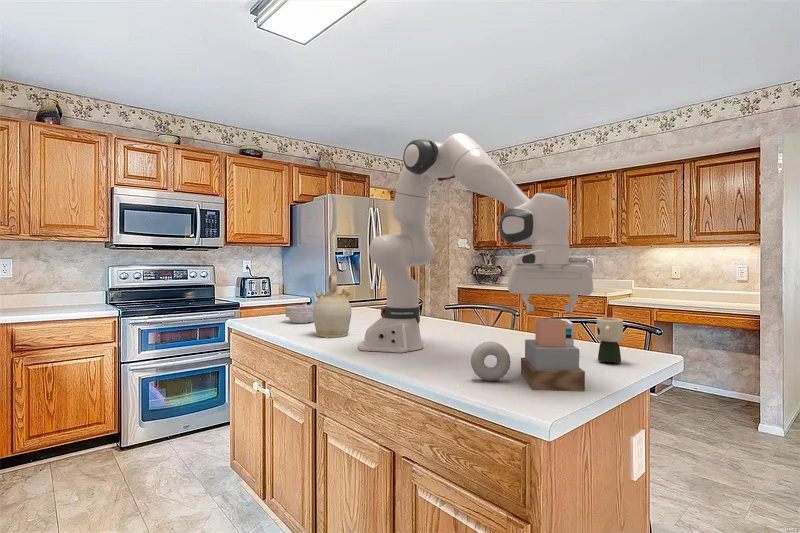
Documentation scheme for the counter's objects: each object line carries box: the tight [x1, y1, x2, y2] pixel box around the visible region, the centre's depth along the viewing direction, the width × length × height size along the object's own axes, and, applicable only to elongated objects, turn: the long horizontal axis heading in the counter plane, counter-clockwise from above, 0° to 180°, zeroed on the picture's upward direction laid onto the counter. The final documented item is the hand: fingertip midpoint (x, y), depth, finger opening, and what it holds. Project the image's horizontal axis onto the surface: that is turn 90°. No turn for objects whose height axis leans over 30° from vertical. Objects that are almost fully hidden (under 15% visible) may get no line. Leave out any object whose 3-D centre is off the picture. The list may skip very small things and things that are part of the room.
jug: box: [313, 272, 352, 339], centre depth 180 cm, size 15×16×25 cm
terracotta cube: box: [534, 318, 566, 347], centre depth 112 cm, size 6×6×6 cm
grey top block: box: [524, 339, 580, 370], centre depth 112 cm, size 10×12×5 cm
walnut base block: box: [520, 357, 586, 392], centre depth 112 cm, size 12×14×5 cm
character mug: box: [596, 317, 624, 364], centre depth 133 cm, size 11×7×13 cm, turn 147°
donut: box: [470, 341, 511, 382], centre depth 113 cm, size 10×4×10 cm, turn 87°
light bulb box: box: [548, 318, 575, 346], centre depth 146 cm, size 11×7×11 cm, turn 169°
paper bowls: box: [285, 304, 315, 324], centre depth 216 cm, size 15×15×8 cm
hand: (549, 312), depth 112 cm, fingers open, 8 cm apart
